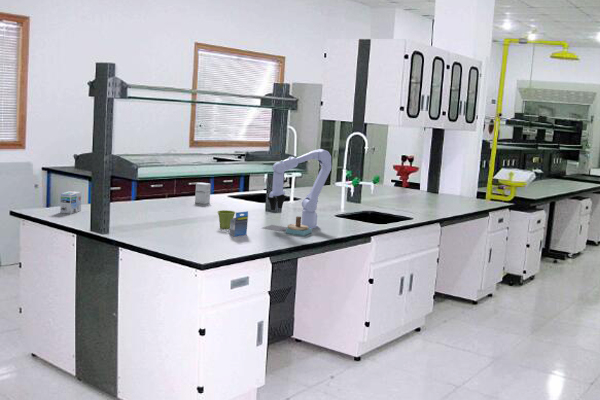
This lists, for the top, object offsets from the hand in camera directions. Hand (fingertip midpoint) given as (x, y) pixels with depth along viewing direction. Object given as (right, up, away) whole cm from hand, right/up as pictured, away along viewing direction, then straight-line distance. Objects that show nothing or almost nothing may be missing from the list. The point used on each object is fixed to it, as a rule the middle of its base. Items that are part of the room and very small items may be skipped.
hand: (276, 209), depth 355 cm
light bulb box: (-114, -2, +4) cm, 114 cm away
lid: (+12, -10, -12) cm, 20 cm away
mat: (0, -11, -3) cm, 11 cm away
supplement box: (-50, +3, +61) cm, 79 cm away
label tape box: (-18, -13, -25) cm, 34 cm away
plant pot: (-26, -10, -10) cm, 30 cm away
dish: (+12, -13, -12) cm, 22 cm away
